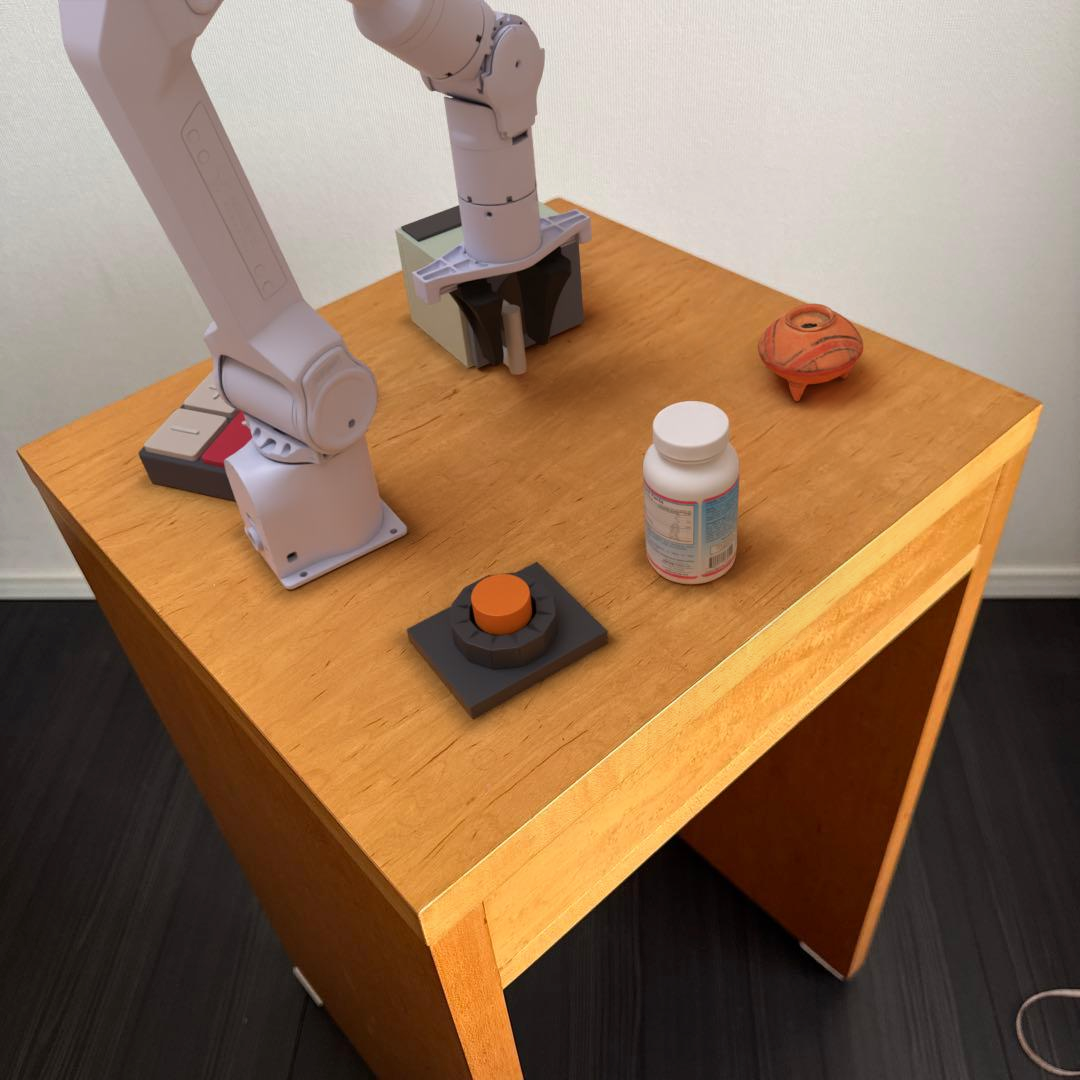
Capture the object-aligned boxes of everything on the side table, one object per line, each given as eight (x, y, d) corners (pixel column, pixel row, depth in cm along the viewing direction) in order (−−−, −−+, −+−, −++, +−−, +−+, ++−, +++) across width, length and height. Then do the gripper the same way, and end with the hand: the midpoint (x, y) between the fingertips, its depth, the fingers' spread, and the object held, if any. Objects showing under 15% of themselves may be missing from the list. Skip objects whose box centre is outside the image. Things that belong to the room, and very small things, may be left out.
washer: (468, 368, 95) (452, 269, 88) (411, 321, 101) (393, 225, 95) (584, 318, 99) (577, 220, 93) (522, 275, 106) (512, 181, 99)
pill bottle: (721, 519, 78) (726, 386, 71) (747, 579, 74) (755, 443, 66) (636, 534, 78) (631, 401, 70) (657, 595, 73) (654, 460, 66)
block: (472, 720, 67) (466, 687, 65) (409, 641, 72) (401, 609, 70) (608, 643, 70) (606, 610, 68) (538, 573, 76) (534, 541, 74)
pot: (856, 415, 85) (843, 339, 81) (757, 417, 89) (739, 345, 85) (878, 355, 90) (866, 281, 86) (783, 360, 94) (767, 289, 90)
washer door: (511, 396, 91) (500, 307, 85) (473, 364, 94) (460, 277, 89) (620, 347, 94) (616, 259, 89) (579, 318, 98) (573, 232, 93)
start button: (494, 644, 68) (490, 624, 67) (463, 610, 70) (460, 590, 69) (543, 617, 69) (541, 597, 68) (512, 585, 71) (509, 565, 70)
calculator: (131, 446, 84) (238, 332, 94) (151, 488, 87) (253, 373, 97) (254, 472, 81) (353, 350, 90) (270, 515, 84) (364, 393, 93)
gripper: (549, 140, 85) (562, 298, 94) (381, 201, 80) (412, 361, 89) (604, 170, 81) (612, 332, 90) (429, 236, 75) (456, 401, 85)
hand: (515, 349), depth 89 cm, fingers open, 4 cm apart
